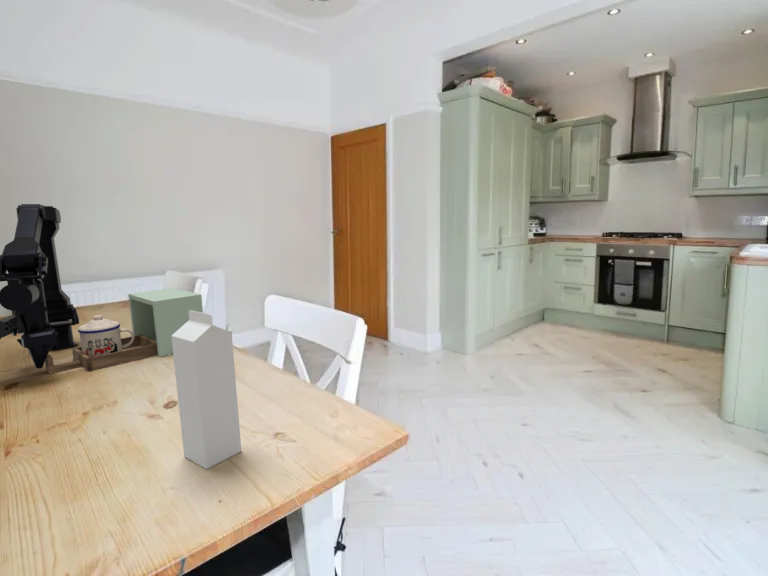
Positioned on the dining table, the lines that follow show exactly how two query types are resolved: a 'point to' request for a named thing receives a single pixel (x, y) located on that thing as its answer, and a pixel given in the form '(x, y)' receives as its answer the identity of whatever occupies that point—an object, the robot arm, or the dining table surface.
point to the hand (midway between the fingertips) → (39, 368)
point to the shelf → (162, 314)
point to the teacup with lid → (102, 337)
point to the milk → (206, 390)
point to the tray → (107, 356)
